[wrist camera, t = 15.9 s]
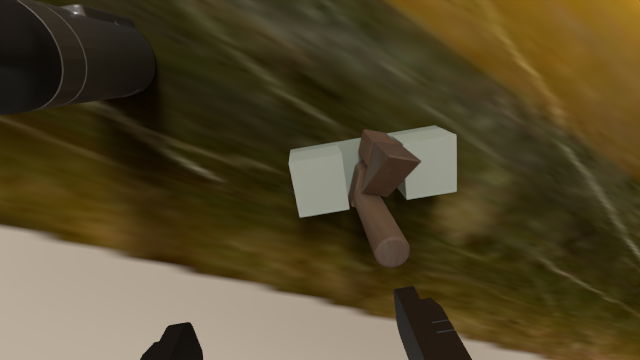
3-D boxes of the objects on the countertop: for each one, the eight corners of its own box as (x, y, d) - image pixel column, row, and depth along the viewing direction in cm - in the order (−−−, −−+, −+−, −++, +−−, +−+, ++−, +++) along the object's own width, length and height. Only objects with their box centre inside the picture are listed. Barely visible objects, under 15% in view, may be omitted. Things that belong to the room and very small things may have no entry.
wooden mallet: (386, 132, 44) (438, 172, 28) (369, 200, 48) (405, 272, 31) (362, 128, 44) (398, 166, 27) (346, 197, 48) (370, 268, 31)
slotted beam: (290, 149, 47) (288, 163, 40) (434, 125, 46) (456, 134, 40) (300, 197, 49) (299, 217, 43) (436, 174, 49) (456, 191, 43)
